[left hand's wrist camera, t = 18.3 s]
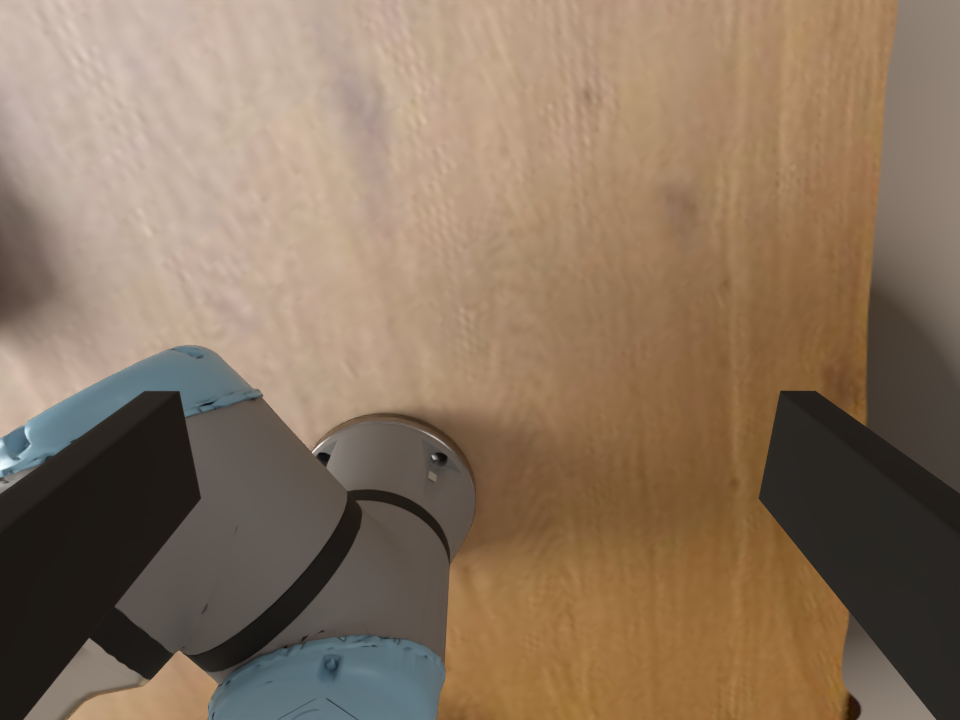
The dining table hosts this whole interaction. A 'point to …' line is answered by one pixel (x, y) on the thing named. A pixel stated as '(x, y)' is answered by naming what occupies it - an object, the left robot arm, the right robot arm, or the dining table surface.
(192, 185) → the dining table surface
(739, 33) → the dining table surface
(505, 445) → the dining table surface
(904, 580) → the left robot arm
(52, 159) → the dining table surface
